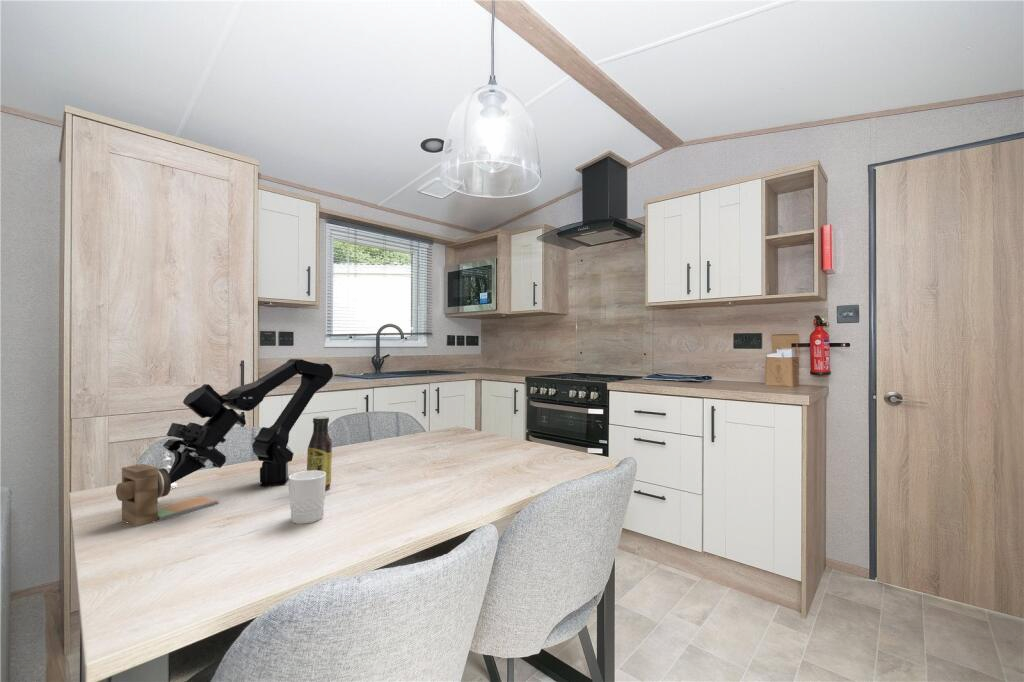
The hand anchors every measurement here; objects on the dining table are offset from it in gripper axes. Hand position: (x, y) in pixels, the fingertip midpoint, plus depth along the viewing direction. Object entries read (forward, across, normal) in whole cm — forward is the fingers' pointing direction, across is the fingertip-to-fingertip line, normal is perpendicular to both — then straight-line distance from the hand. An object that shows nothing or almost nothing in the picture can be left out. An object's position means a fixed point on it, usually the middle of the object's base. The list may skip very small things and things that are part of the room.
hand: (167, 483), depth 111 cm
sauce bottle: (-16, +16, +26) cm, 35 cm away
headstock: (+9, 0, +1) cm, 9 cm away
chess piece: (-2, -22, +12) cm, 25 cm away
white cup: (-5, +32, +15) cm, 36 cm away
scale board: (+3, 0, +7) cm, 8 cm away
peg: (+5, 0, -2) cm, 6 cm away
